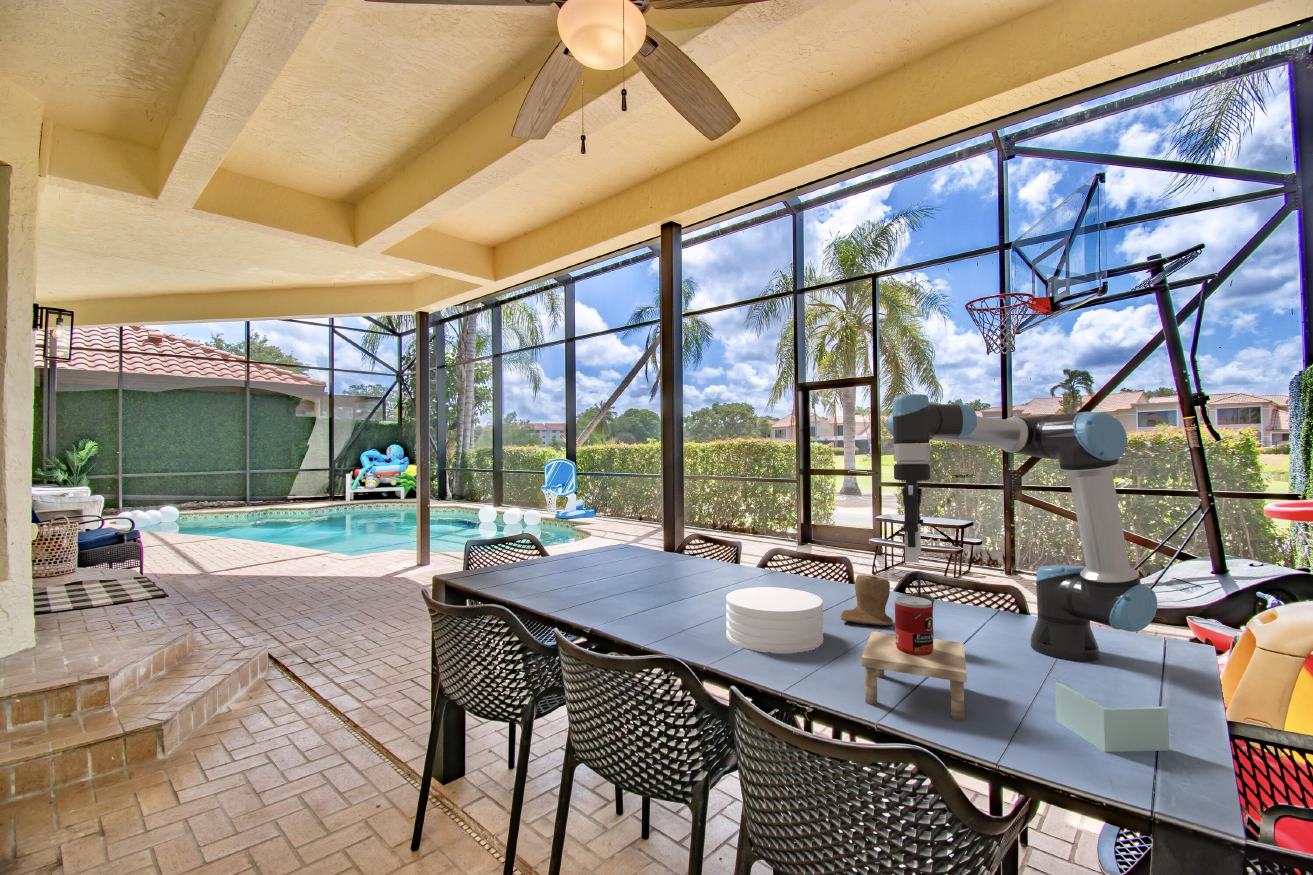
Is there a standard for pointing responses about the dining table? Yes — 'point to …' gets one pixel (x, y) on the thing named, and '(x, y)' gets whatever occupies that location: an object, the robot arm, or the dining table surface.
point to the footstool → (916, 666)
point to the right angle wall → (1112, 723)
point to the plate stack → (774, 619)
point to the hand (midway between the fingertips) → (913, 556)
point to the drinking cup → (921, 593)
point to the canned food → (914, 625)
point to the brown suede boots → (869, 601)
